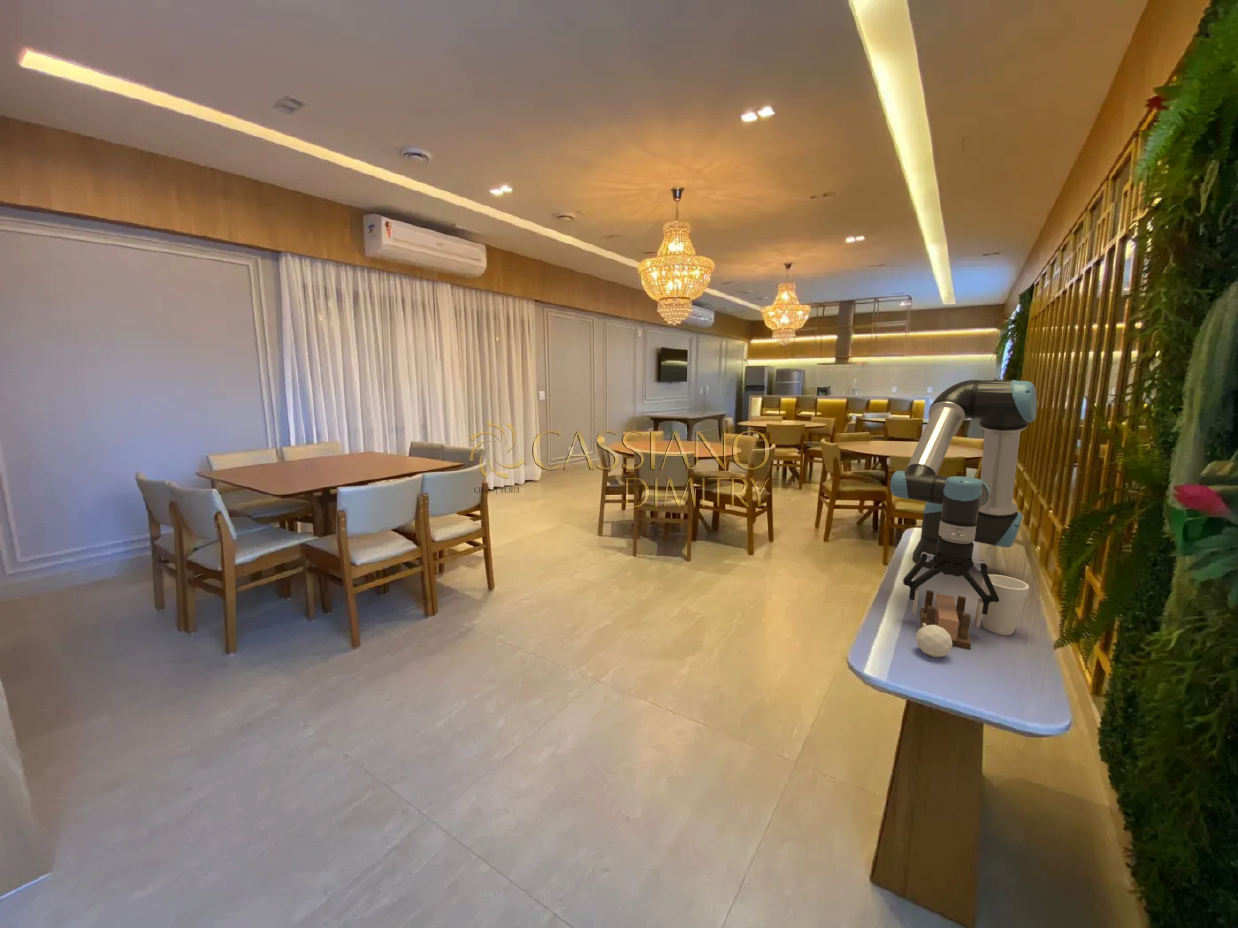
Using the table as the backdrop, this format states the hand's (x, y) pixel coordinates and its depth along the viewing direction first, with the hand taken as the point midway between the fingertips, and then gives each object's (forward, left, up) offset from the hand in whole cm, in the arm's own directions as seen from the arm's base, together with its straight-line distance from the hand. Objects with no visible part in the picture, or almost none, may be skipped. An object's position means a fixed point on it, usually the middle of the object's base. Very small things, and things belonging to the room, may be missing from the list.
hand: (945, 618), depth 128 cm
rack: (0, 0, -3) cm, 3 cm away
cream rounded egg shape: (+15, -3, -3) cm, 16 cm away
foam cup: (-8, +12, -3) cm, 15 cm away
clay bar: (0, 0, -2) cm, 2 cm away
